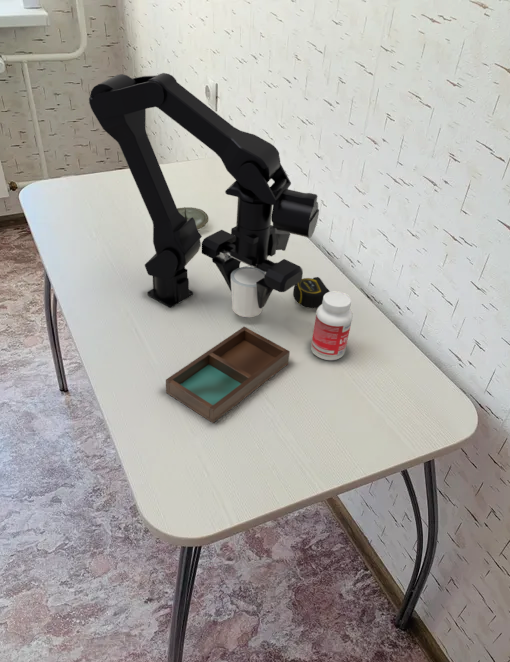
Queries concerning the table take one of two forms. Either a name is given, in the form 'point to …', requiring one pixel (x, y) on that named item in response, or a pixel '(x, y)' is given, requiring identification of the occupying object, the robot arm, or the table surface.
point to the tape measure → (310, 292)
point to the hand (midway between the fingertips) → (247, 300)
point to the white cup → (245, 291)
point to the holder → (227, 373)
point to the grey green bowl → (195, 215)
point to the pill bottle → (332, 326)
